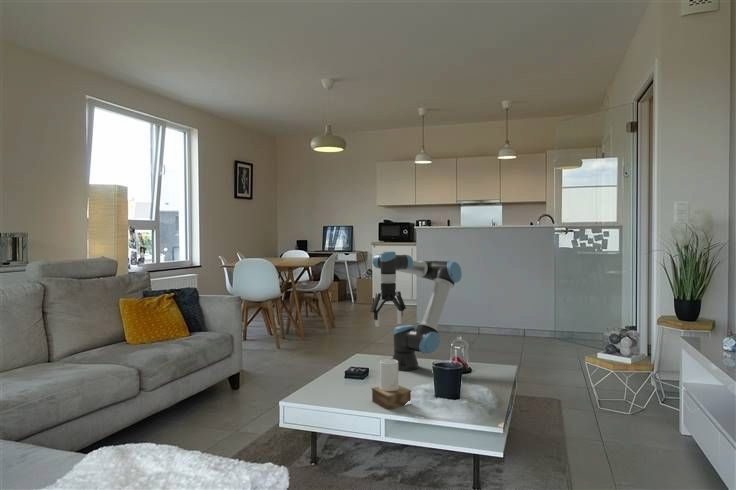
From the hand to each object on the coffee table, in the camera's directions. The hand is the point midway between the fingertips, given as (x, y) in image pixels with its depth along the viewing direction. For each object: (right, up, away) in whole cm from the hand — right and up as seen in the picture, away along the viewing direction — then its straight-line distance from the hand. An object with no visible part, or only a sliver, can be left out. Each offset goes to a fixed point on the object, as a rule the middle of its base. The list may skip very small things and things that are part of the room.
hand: (388, 325), depth 240 cm
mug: (-1, -23, -30) cm, 38 cm away
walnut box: (0, -29, -30) cm, 42 cm away
